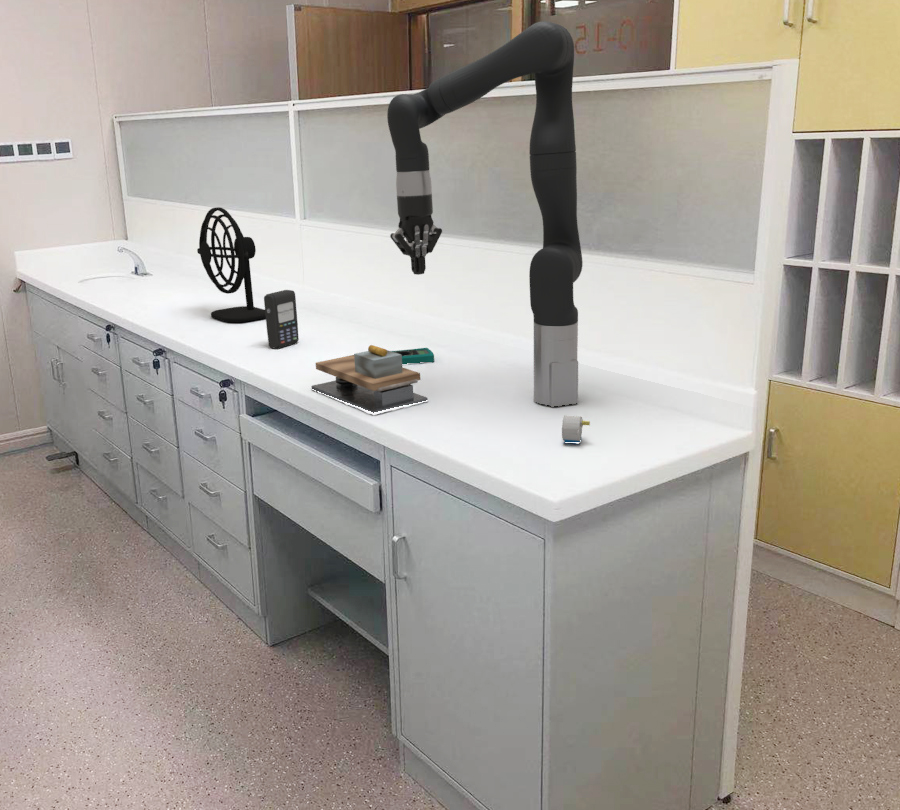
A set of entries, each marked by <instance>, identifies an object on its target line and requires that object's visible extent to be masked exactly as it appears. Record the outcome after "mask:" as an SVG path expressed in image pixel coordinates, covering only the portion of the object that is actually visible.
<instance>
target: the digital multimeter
mask: <svg viewBox="0 0 900 810" xmlns="http://www.w3.org/2000/svg"><path fill="white" fill-rule="evenodd" d="M390 351H391V352H395V353H398V354H401V355H402V364H407V363H419V364H421V363H420V362H432V363H434V362H435V354H434V352H433V351H432V350H431V349H429V348H428V347H421V348H420V347H418V348H411V349H401V350H400V349H398V350H390Z"/></svg>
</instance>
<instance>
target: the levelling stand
mask: <svg viewBox="0 0 900 810" xmlns="http://www.w3.org/2000/svg"><path fill="white" fill-rule="evenodd" d="M310 386H311V390H312V389H314V390H316V391H319V392H321V393H324V394H326V395H329V396H332V397H334V398H337V399H339V400H342V401H344V402H347V403H350V404H352V405H355V406H358V407H361V408H363V409H365V410H368V411H371V412H373V413H374V412H378V411H382V410H386V409H390V408H394V407H399V406H403V405H409V404H413V403H418V402H422V401H426V400H428V397H426V396H424V395H421V394H420V393H419V394H418V393H415V392H414V385H413V384H409V385H405V386H401V387H397V388H392V389H388V390H384V391H380V392H377V390H376V391H372V390H370V389H367V388H364V387H362V386H359V385H357V384H354V383H351V382H349V381H346V380H343V379H341V378H338V377H336V376H335V380H333V381H332V380H331V381H327V382H324V383H323V382H322V383H318V384H314V385H310Z"/></svg>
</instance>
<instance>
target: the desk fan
mask: <svg viewBox="0 0 900 810" xmlns="http://www.w3.org/2000/svg"><path fill="white" fill-rule="evenodd" d="M217 211H218V212H220V213H222V214H219V215H214V214H215V213H216V212H217ZM222 218H227V220H228V222H229V223H230V224H229V225H226V224H225V222H224V221H223V220H222ZM211 219H214V221H213V223H212V227H209V226H210V225H209V224H210V221H211ZM218 223H219V224H220V225H221V227H222V229H223V230H224V231H223V232H224V233H223V237H222V243H221V240H220V238H219V236H218V233H216V228H217V226H218V225H217V224H218ZM231 227H232V229H233V232H234V234H235V235H234V236H235V239H234V242H233V240H232V239H233V238H232V237H231V234H230V231H229V229H230V228H231ZM208 230H209V231H211V235H210V237H211V238H210V241H211V243H210V244H211V245H209V243H208ZM199 233H200V234H199V243H198V247H199V248H197V250H196V251H197V254H199V256H200V260H201V262H202V263H201V264H202V266H203V268H204V269H205V271H206V274H207V276H208V278H209V279H210V281H211V282H212V283H213V284H214V286H215V287H216V288H217V289H218V291H219V292H221V293H224V294H234V293H236V292H237V291H238V290H239V288H241V285H242V283H244V293H245V302H246V305H245V306H244V305H243V306H234V307H228V308H222V309H221V308H220V309H215V310H213V311H212V312H210V316H211V317H212V318H214V319H215V320H216V319H217V320H220V321H223V322H226V323H246V322H252V321H257V320H258V321H259V320H262V319H266V315H265V308H259V307H255V305H254V304H255V303H254V295H253V286H252V277H251V276H252V275H251V264H250V259H253V258H255V255H256V252H257V251H256V250H257V249H256V245H255V241H254V239H253V238H252V237H250V236H244V234H243V233H242V230H241V229H240V227H239V225H238V223H237V221H236V220H235V219H234V218H233V216H232V215H231V214H230V213H229V212H228V210H227V209H225V208H223V207H219V206H218V207H213V208H211V209H209V210H208V211H207V213H205V217H204V220H203V222H202V224H201V227H200V231H199ZM226 238H227V241H228V245H229V247H227V246H226ZM215 240H216V241H217V244H218V246H216V241H215ZM217 250H218V251H219V253H218V254H217V252H216V251H217ZM227 251H229V252H230V254H228V253H227ZM212 258H213V261H214V264H215V265H214V266H215V267H216V269H217V274H215V273H214V270H213V269H212V265H211V263H212ZM218 258H220V264H219V261H218ZM224 259H225V261H226V263H227V265H228V267H229V269H230V273H229V277H228V278H227V277H226V276H225V274H224V273H223V267H224ZM229 259H230V260H231V261H229ZM236 259H237V260H238V261H237V263H238V264H237V270H236ZM235 274H236V276H235ZM219 276H220V277H221V278H222V281H224V282H225V283H224V284H221V283H220V282H219V281H218V279H217V277H219ZM234 276H235V280H234V282H232V281H233V279H234ZM228 286H231V287H230V288H229V289H226V287H228Z"/></svg>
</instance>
